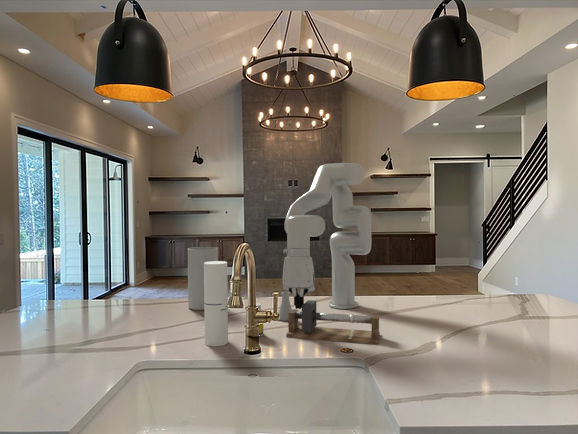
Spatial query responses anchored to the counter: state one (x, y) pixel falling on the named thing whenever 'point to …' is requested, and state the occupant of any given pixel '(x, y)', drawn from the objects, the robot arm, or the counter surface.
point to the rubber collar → (308, 316)
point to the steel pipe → (337, 317)
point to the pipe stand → (335, 332)
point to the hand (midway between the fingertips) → (298, 307)
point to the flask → (284, 307)
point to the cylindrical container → (216, 303)
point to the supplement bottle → (260, 324)
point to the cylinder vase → (198, 274)
